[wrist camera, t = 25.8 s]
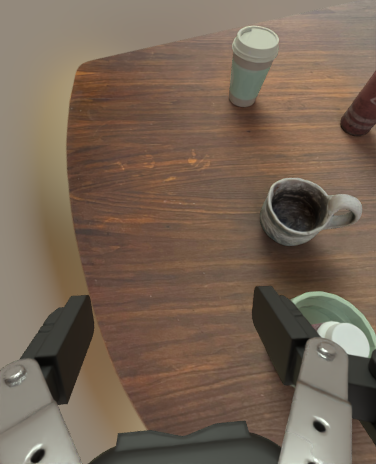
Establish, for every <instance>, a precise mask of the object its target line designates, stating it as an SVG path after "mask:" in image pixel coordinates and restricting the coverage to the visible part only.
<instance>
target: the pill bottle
mask: <svg viewBox="0 0 376 464" xmlns="http://www.w3.org/2000/svg"><path fill="white" fill-rule="evenodd" d="M312 326H313V328H314V329H315V330H316V331H317V333H318V334H319V335H320V336H321V337H322V338H326V339H329V340H331V341H333V342H335V343H337V344H338V345H340V346H341V347H342V348H343V349H344V350H345V351H346V353H347V354H350V355H356V356H361V357H367V358H368V356H369V351H370V348H369V343H368V340H367V338H366V336H365V334H364V333H363V332H362V331H361V330H360V329H359V328H358V327H356V326H355V325H352V324H349V323H339V322H334V321H330V322H324V323H318V324H312Z"/></svg>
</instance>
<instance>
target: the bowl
mask: <svg viewBox="0 0 376 464" xmlns="http://www.w3.org/2000/svg"><path fill="white" fill-rule="evenodd" d="M290 300H291V301H292V302H293V303H294V304H295V305H296V307H297V308H298V310H300V312H301V313H302V314H303V316H304V317H305V318H306V319H307V320H308V321H309V323H310V324H311V325H312V324H318V323H324V322H330V321H334V322H339V323H349V324H352V325H355V326H356V327H358V328H359V329H360V330H361V331H362V332H363V333H364V334H365V336H366V338H367V340H368V343H369V348H370V351H369V356H368V358H371V355H372V352H373V350H375V349H376V335H375V332H374V331H373V328H372V327H371V325H370V324H369V322H368V321H367V319H366V318H365V316H364V315H363V314H362V313H361V312H360V311H359V310H358V309H357V308H355V307H354V306H353V305H352V304H351V303H350V302H348V301H346V300H344V299H343V298H341V297H339V296H337V295H334V294H330V293H326V292H322V291H317V292H306V293H304V294H302V295H299V296H297V297H295V298H292V299H290ZM270 359H271V358H270ZM271 361H272V360H271ZM272 363H273V362H272ZM273 365H274V364H273ZM274 367H275V366H274ZM290 386H292V387H293V388H296V387H295V386H294V385H290Z"/></svg>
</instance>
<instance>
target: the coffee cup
mask: <svg viewBox="0 0 376 464" xmlns="http://www.w3.org/2000/svg"><path fill="white" fill-rule="evenodd" d="M278 43H279V39H278V36H277V35H276V34H275V33H274V32H273V31H272V30H270V29H268V28H265V27H261V26H247V27H244V28H242V29H241V30H240V31H239V32H238V34H237V36H236V38H235V39H234V42H233V44H232V48H233V59H232V70H231V80H230V91H229V99H230V101H231V102H232V103H233V104H235V105H237V106H240V107H248V106H251V105H252V104H253V103H254V102H255V99H256V97H257V95H258V93H259V91H260V89H261V86H262V84H263V82H264V80H265V78H266V75H267V73H268V71H269V69H270V67H271V64H272V62H273V60H274V59H275V58H276V57H277V55H278V50H279V46H278Z"/></svg>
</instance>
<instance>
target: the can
mask: <svg viewBox="0 0 376 464" xmlns="http://www.w3.org/2000/svg"><path fill="white" fill-rule="evenodd" d="M375 124H376V71H375V72H374V74H373V75H372V77H371V78H370V79H369V81H368V82H367V83H366V85H365V86H364V88H363V89H362V90H361V92H360V93H359V95H358V96H357V97H356V99H355V100H354V101H353V103H352V104H351V106H350V107H349V108H348V110H347V111H346V112H345V114H344V115H343V117H342V118H341V127H342V128H343V130H344V131H345V132H347V133H349V134H351V135H354V136H361V135H364V134H366V133H368V132H369V131H370V130H371V128H372V127H373V126H374V125H375Z"/></svg>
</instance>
